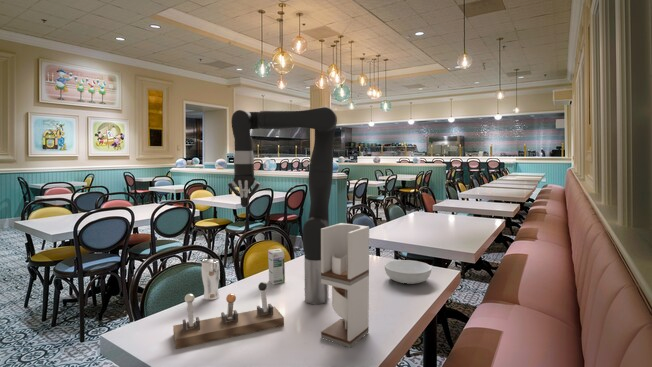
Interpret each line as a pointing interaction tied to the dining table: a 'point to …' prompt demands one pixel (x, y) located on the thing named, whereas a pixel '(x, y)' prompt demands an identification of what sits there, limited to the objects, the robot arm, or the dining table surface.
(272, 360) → the dining table surface
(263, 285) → the black lever
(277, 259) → the syrup box
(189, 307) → the cream lever
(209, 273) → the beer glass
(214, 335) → the switch panel
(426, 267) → the serving bowl
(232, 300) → the orange lever
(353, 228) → the display case
